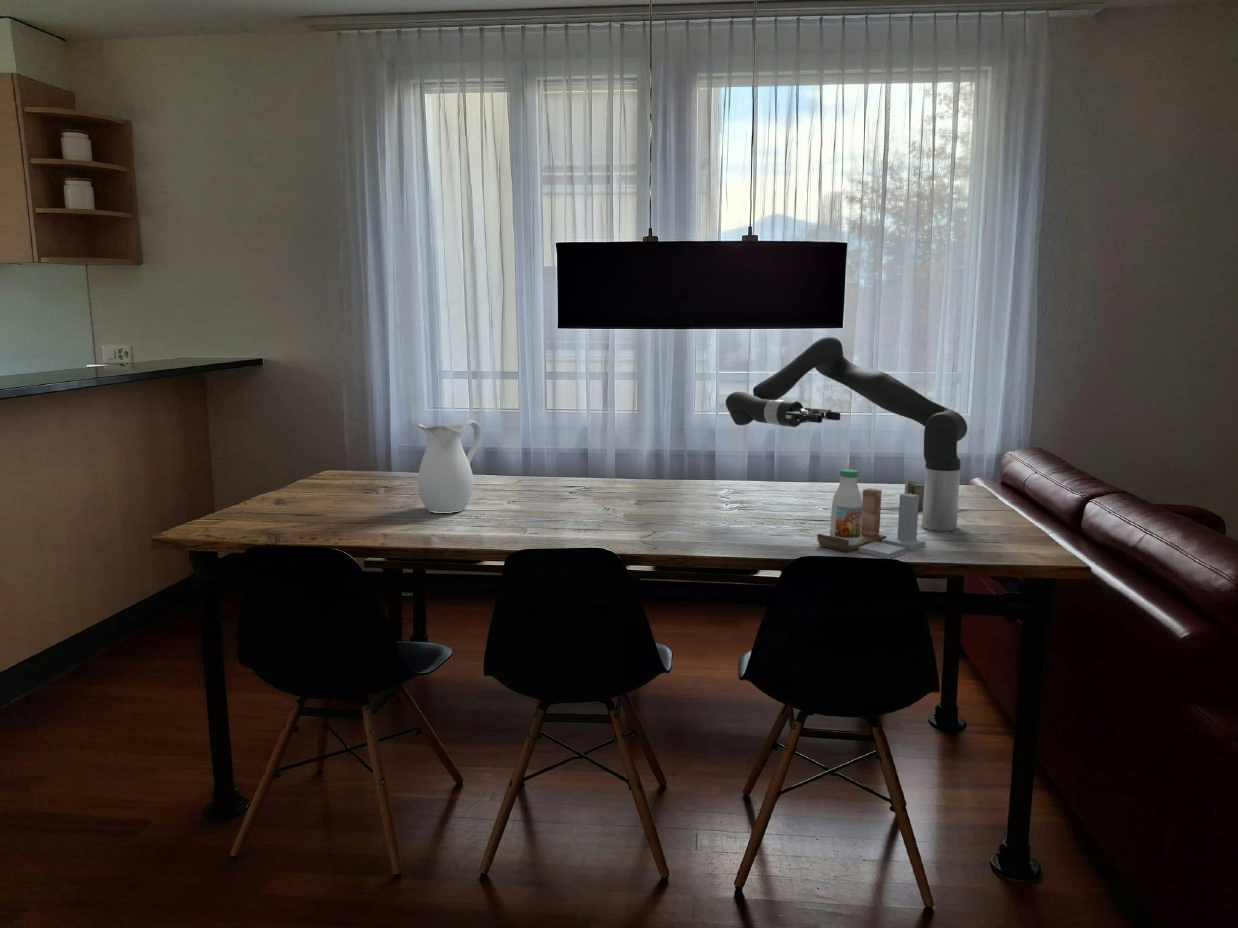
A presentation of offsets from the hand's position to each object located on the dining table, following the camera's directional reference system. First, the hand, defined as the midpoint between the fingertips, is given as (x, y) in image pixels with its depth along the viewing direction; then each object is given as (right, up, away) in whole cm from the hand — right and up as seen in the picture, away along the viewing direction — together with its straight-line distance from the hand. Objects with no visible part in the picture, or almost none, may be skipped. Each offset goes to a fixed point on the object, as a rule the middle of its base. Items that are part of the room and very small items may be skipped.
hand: (830, 417), depth 233 cm
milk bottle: (+1, -34, -11) cm, 36 cm away
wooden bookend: (+4, -34, -9) cm, 35 cm away
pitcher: (-111, -27, +34) cm, 119 cm away
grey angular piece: (+12, -35, -14) cm, 40 cm away
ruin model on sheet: (+38, -27, +33) cm, 57 cm away
